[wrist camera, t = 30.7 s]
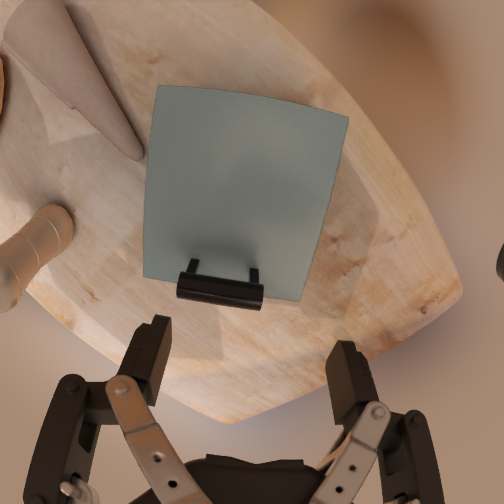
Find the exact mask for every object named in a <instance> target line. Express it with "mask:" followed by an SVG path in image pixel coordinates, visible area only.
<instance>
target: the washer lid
mask: <svg viewBox="0 0 504 504" xmlns="http://www.w3.org/2000/svg"><path fill="white" fill-rule="evenodd" d="M348 121H349V117H346V116H343V115H340V114H336V113H333V112H329V111H326V110H322V109H318V108H314V107H310V106H306V105H302V104H298V103H293V102H289V101H284V100H279V99H274V98H269V97H264V96H258V95H252V94H246V93H240V92H233V91H225V90H217V89H208V88H197V87H184V86H166V85H158V87H157V93H156V99H155V105H154V112H153V119H152V126H151V134H150V142H149V151H148V161H147V172H146V185H145V201H144V225H143V277H146V278H151V279H156V280H162V281H167V282H173V283H177V290H176V295H177V298H180V299H186V300H192V301H198V302H204V303H210V304H216V305H222V306H229V307H235V308H242V309H249V310H256V311H260V309H261V306H262V302H263V297H267V298H274V299H282V300H289V301H297V302H300V299H301V296H302V293H303V290H304V287H305V283H306V280H307V277H308V274H309V271H310V267H311V264H312V261H313V258H314V254H315V251H316V247H317V244H318V241H319V237H320V234H321V230H322V227H323V223H324V219H325V216H326V212H327V208H328V205H329V201H330V197H331V193H332V189H333V186H334V182H335V178H336V174H337V170H338V165H339V161H340V157H341V153H342V149H343V144H344V140H345V135H346V131H347V126H348Z"/></svg>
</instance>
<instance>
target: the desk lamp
mask: <svg viewBox="0 0 504 504" xmlns="http://www.w3.org/2000/svg"><path fill="white" fill-rule="evenodd" d="M3 90H4V75H3V65H2V60H1V58H0V114H1V110H2V102H3Z"/></svg>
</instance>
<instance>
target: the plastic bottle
mask: <svg viewBox="0 0 504 504" xmlns="http://www.w3.org/2000/svg"><path fill="white" fill-rule="evenodd" d="M73 234H74V226H73V221H72V219H71V216H70V215H69V213H68V212H67V211H66V210H65V209H64V208H63V207H61V206H58V205H56V204H49V205H47V206H44V207H42V208H40V209H39V210H38V211H37V212H36V213H35V214H34V215H33V217H32V218H31V219H30V221H29V222H28V223H26V224H25V225H24V226H23V227H22V228H21V229H20V230H19V231H18V232H17V233H16V234H14V235H13V236H12V237H10V238H9V239H8V240H6V241H5V242H4V243H2V244H1V245H0V313H2V312H7V311H9V310H11V309H12V308H14V307H15V305H16V304H17V302H18V301H19V299H20V298H21V296H22V294H23V293H24V291H25V289H26V288H27V286H28V284H29V283H30V281H31V280H32V279H33V278H34V276H35V275H36V273H38V271H39V270H40V269H41V268H42V267H43V266H44V265H45V264H46V263H48V262H49V261H50V260H51V259H52V258H53V257H56V256H57V255H59V254H60V253H62V252H63V251H64V250H66V248H67V247H68V246H69V244H70V242H71V241H72V239H73Z"/></svg>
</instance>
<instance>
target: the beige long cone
mask: <svg viewBox="0 0 504 504" xmlns="http://www.w3.org/2000/svg"><path fill="white" fill-rule="evenodd" d="M1 45H2V46H3V47H4V48H5V49H6V50H7V51H8V52H9V53H10V54H11V55H13V56H14V57H15V58H16V59H17V60H18V61H19V62H20V63H21V64H22V65H23V66H24V67H25V68H26V69H28V70H29V71H30V72H31V73H32V74H33V75H34V76H35V77H36V78H37V79H38V80H39V81H41V82H42V83H43V84H44V85H45V86H46V87H47V88H48V89H49V90H50V91H51V92H53V93H54V94H55V95H56V96H57V97H58V98H59V99H60V100H61V101H62V102H64V103H65V104H66V105H67V106H68V107H69V108H70V109H76V110H77V111H79V112H80V113H81V114H82V115H83V116H84V117H85V118H86V119H87V120H88V121H89V122H90V123H91V124H92V125H94V126H95V127H96V128H97V129H98V130H99V131H100V132H101V133H102V134H103V135H105V136H106V137H107V138H108V139H109V140H110V141H111V142H112V143H113V144H114V145H115V146H116V147H117V148H118V149H119V150H120V151H121V152H122V153H123V154H125V155H126V156H127V157H129V158H131V159H132V160H134V161H136V162H139V161H141V160H142V158H143V157H144V151H143V148H142V146H141V144H140V143H139V141H138V139H137V137H136V136H135V134H134V132H133V130H132V128H131V126H130V125H129V123H128V121H127V119H126V118H125V116H124V114H123V112H122V111H121V109H120V107H119V106H118V104H117V102H116V100H115V99H114V97H113V95H112V93H111V92H110V90H109V88H108V86H107V85H106V83H105V81H104V79H103V78H102V76H101V74H100V72H99V71H98V69H97V67H96V65H95V63H94V61H93V60H92V58H91V56H90V54H89V52H88V50H87V49H86V47H85V45H84V43H83V41H82V39H81V37H80V35H79V33H78V31H77V30H76V28H75V26H74V24H73V22H72V20H71V18H70V16H69V14H68V12H67V10H66V8H65V6H64V4H63V2H62V0H24V1H23V2H22V3H21V4H20V5H19V6H18V7H17V8H16V10H15V11H14V12H13V14H12V15H11V17H10V18H9V20H8V22H7V24H6V27H5V30H4V40H3V42H2V43H1Z"/></svg>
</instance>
